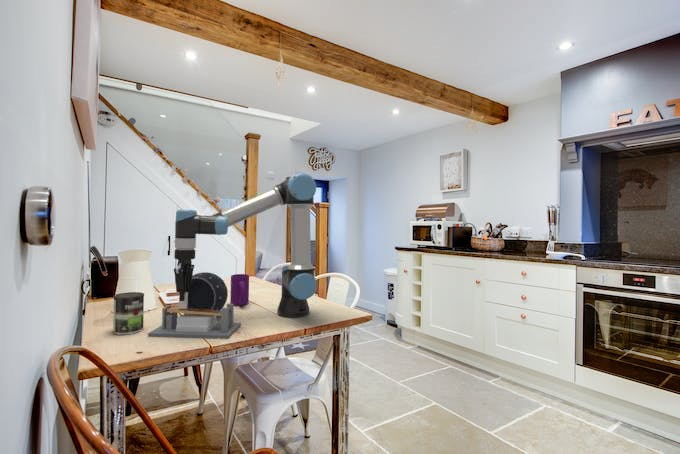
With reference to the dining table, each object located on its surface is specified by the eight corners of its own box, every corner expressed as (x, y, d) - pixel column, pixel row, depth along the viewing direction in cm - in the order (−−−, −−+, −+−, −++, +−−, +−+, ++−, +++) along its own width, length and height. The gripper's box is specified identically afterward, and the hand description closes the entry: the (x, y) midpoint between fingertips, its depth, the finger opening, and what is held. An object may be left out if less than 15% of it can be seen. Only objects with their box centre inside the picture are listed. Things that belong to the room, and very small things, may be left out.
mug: (247, 301, 188) (247, 273, 188) (252, 308, 174) (252, 278, 174) (229, 302, 185) (229, 274, 184) (233, 310, 170) (233, 279, 170)
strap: (231, 314, 140) (231, 309, 140) (228, 317, 136) (228, 312, 136) (172, 310, 141) (172, 305, 140) (166, 313, 137) (167, 308, 136)
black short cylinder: (217, 322, 150) (218, 275, 150) (176, 318, 154) (176, 273, 154) (230, 315, 161) (230, 272, 160) (191, 312, 165) (191, 269, 164)
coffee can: (149, 329, 139) (149, 294, 138) (121, 336, 130) (121, 298, 129) (135, 325, 144) (135, 290, 144) (107, 331, 135) (108, 295, 135)
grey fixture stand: (240, 325, 146) (241, 301, 146) (228, 338, 130) (228, 311, 130) (169, 323, 147) (169, 299, 147) (147, 336, 131) (148, 309, 131)
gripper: (183, 247, 144) (181, 304, 145) (167, 249, 131) (165, 312, 132) (201, 248, 144) (199, 305, 145) (187, 250, 131) (185, 313, 132)
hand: (183, 308), depth 138 cm, fingers closed
